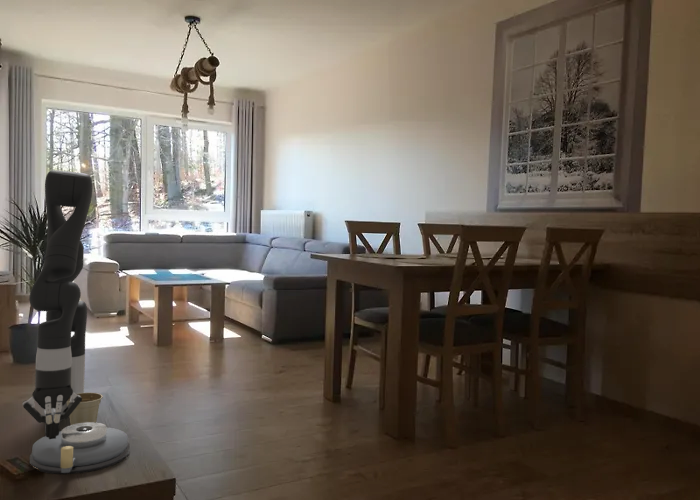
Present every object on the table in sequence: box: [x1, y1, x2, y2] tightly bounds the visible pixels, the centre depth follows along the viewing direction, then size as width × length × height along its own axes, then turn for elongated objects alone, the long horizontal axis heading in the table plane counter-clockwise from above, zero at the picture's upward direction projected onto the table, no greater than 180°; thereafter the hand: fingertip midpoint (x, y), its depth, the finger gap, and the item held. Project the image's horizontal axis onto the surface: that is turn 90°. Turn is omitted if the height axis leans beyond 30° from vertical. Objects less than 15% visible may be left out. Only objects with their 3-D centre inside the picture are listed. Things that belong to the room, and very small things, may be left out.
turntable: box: [31, 427, 129, 473], centre depth 137 cm, size 26×21×6 cm
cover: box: [60, 422, 107, 449], centre depth 139 cm, size 10×10×3 cm
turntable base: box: [29, 442, 131, 475], centre depth 139 cm, size 22×22×1 cm
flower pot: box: [67, 392, 103, 425], centre depth 158 cm, size 9×9×9 cm
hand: (51, 437), depth 136 cm, fingers closed
